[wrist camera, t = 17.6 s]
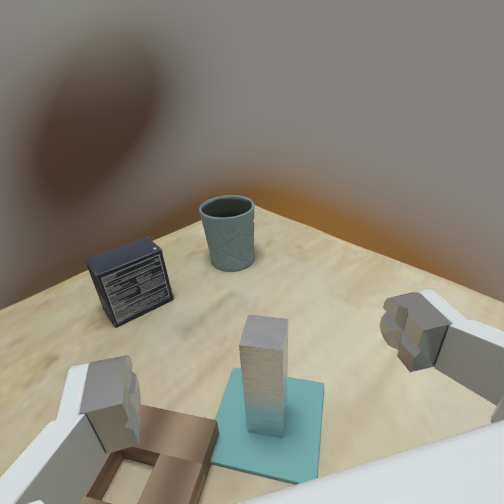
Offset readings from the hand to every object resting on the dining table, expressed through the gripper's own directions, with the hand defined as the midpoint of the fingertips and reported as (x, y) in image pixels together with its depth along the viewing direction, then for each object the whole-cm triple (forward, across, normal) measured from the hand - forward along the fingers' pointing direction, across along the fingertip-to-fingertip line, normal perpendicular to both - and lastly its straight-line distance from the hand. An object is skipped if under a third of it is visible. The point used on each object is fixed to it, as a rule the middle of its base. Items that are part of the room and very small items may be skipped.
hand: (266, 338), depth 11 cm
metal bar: (+15, -4, +30) cm, 33 cm away
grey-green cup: (+50, -6, +30) cm, 59 cm away
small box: (+42, +12, +30) cm, 53 cm away
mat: (+15, -4, +30) cm, 34 cm away
